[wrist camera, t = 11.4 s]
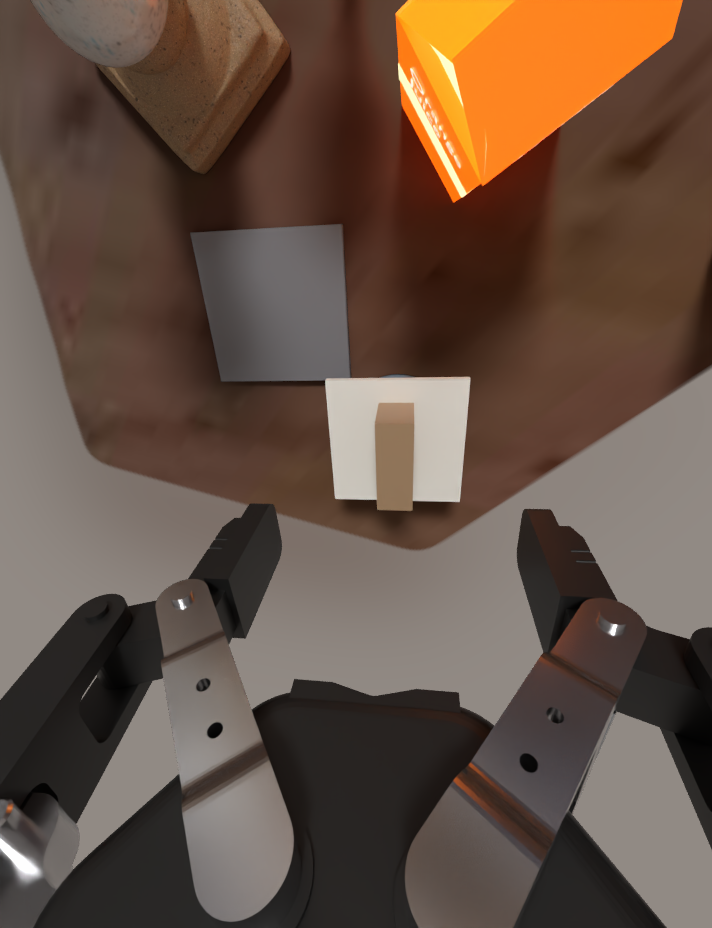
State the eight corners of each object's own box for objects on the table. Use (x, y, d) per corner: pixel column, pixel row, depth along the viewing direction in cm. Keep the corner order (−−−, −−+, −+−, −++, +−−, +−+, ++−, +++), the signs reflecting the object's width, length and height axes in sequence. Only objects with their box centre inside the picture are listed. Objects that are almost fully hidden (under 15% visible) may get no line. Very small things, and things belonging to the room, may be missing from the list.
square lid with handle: (469, 376, 34) (478, 398, 30) (458, 498, 40) (465, 531, 36) (326, 378, 36) (314, 399, 31) (336, 495, 41) (327, 526, 37)
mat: (342, 224, 34) (341, 223, 34) (351, 377, 41) (350, 380, 40) (194, 232, 36) (190, 232, 35) (224, 379, 42) (221, 381, 41)
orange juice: (399, 104, 30) (385, -72, 13) (514, -3, 27) (702, -431, 10) (454, 206, 33) (503, 175, 15) (564, 119, 30) (782, -42, 12)
